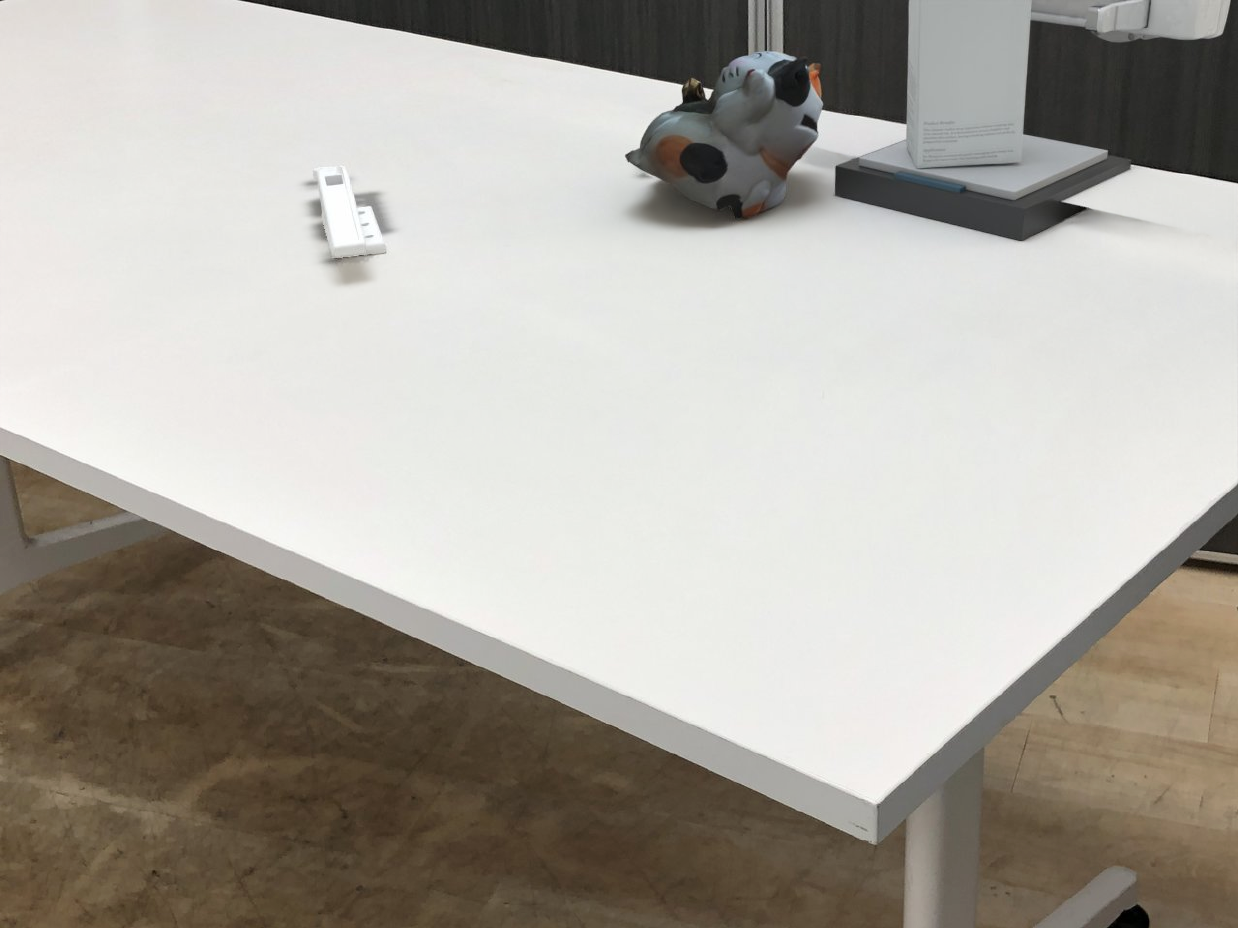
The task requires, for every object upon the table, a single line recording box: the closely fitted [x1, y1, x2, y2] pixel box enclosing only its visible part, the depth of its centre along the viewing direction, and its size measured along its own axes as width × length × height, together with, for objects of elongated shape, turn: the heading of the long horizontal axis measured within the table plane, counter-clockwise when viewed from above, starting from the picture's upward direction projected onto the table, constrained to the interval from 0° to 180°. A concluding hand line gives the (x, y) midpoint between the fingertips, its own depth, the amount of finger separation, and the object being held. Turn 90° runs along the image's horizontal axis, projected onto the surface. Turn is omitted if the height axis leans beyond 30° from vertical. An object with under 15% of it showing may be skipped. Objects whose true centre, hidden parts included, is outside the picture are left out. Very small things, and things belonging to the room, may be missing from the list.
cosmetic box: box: [905, 0, 1032, 169], centre depth 107 cm, size 8×6×15 cm
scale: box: [834, 133, 1132, 242], centre depth 112 cm, size 17×15×3 cm
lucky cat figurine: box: [624, 50, 824, 220], centre depth 112 cm, size 15×12×14 cm
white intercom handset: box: [312, 164, 387, 259], centre depth 109 cm, size 4×20×5 cm, turn 15°
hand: (1038, 13), depth 111 cm, fingers open, 8 cm apart
